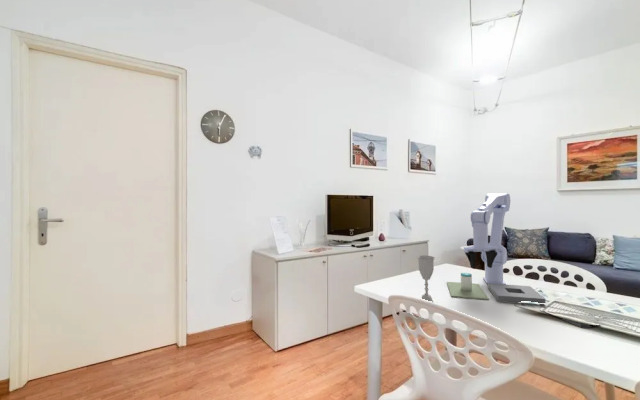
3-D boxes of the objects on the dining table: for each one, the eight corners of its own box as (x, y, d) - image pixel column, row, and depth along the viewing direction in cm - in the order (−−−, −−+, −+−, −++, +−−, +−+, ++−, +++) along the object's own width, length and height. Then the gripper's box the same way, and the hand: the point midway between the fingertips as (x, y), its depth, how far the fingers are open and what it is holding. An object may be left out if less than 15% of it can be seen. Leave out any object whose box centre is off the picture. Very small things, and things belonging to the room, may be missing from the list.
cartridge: (459, 289, 129) (459, 274, 129) (463, 287, 132) (462, 272, 132) (469, 291, 126) (469, 276, 126) (473, 289, 129) (473, 273, 129)
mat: (446, 282, 141) (446, 281, 141) (478, 285, 136) (478, 283, 136) (451, 297, 122) (451, 295, 122) (488, 300, 118) (488, 298, 118)
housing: (488, 288, 131) (488, 283, 131) (530, 291, 126) (530, 286, 126) (497, 301, 116) (497, 295, 116) (545, 305, 110) (545, 299, 110)
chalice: (437, 304, 114) (436, 259, 114) (419, 303, 116) (418, 259, 115) (433, 297, 122) (432, 255, 121) (417, 297, 123) (416, 255, 123)
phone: (555, 305, 108) (601, 322, 93) (555, 308, 108) (601, 326, 93) (538, 308, 107) (582, 325, 92) (538, 311, 107) (582, 329, 92)
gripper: (469, 239, 124) (470, 270, 124) (502, 238, 125) (503, 269, 125) (461, 237, 131) (461, 266, 132) (492, 235, 132) (492, 265, 132)
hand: (481, 267), depth 129 cm, fingers open, 7 cm apart
